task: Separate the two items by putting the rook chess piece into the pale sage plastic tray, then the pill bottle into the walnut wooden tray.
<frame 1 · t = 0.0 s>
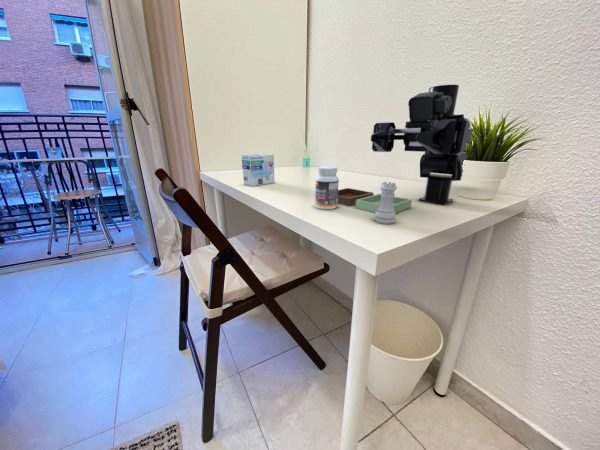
hand: (392, 137, 45), 17 cm above the table, tool horizontal, fingers open, 9 cm apart
light bulb box: (259, 183, 95), on the table
rook chess piece: (384, 221, 51), on the table
sage tray: (383, 207, 61), on the table
walnut tray: (348, 199, 69), on the table
pill bottle: (326, 207, 62), on the table
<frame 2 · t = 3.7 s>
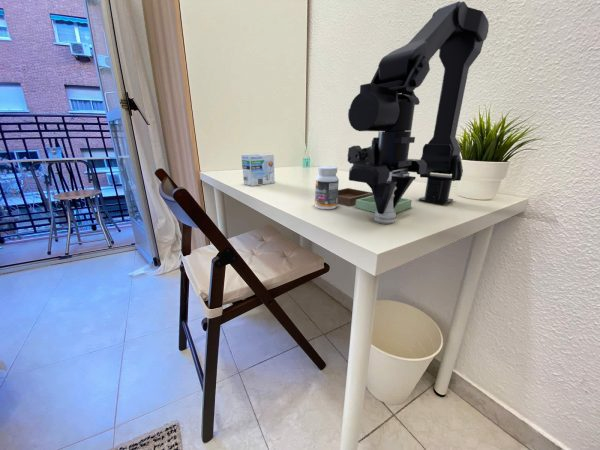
hand: (385, 211, 51), 2 cm above the table, tool pointing down, fingers closed on rook chess piece, 3 cm apart
rook chess piece: (384, 221, 51), on the table, touching gripper
everything else where it was.
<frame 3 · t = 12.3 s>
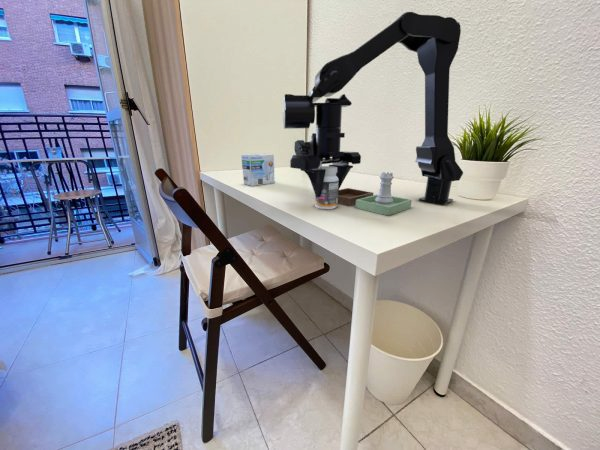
hand: (326, 195, 61), 3 cm above the table, tool pointing down, fingers closed on pill bottle, 6 cm apart
rook chess piece: (383, 206, 61), resting on sage tray
pill bottle: (326, 207, 62), on the table, touching gripper
everything else where it was.
when the fingers open (4 cm above the table, at t = 17.3 s): pill bottle stays where it is, resting on walnut tray.
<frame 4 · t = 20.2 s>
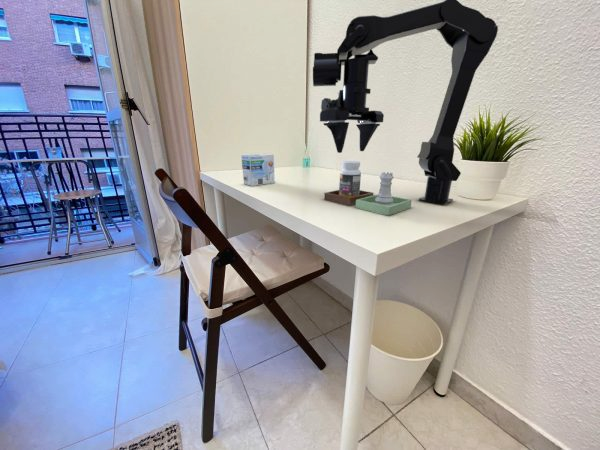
hand: (351, 151, 65), 13 cm above the table, tool pointing down, fingers open, 9 cm apart
pill bottle: (348, 198, 69), resting on walnut tray
everything else where it was.
at the end: rook chess piece inside the target area on the sage tray (0.1 cm from its centre), point 0.3 cm above the sage tray's base; pill bottle inside the target area on the walnut tray (0.1 cm from its centre), point 0.3 cm above the walnut tray's base; pill bottle tilted 0° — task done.
